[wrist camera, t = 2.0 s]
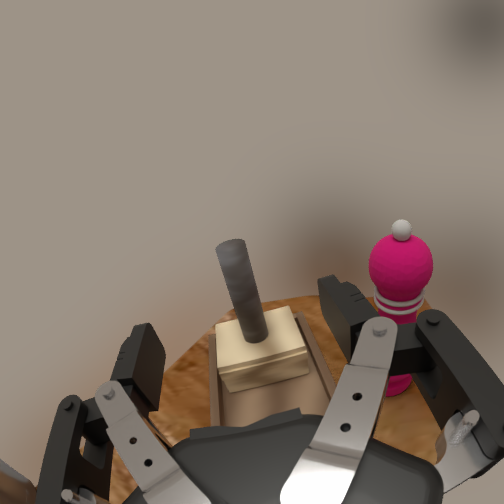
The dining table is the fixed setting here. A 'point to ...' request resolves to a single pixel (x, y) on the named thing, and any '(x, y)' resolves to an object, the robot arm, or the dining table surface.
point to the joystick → (254, 330)
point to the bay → (272, 388)
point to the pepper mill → (400, 282)
